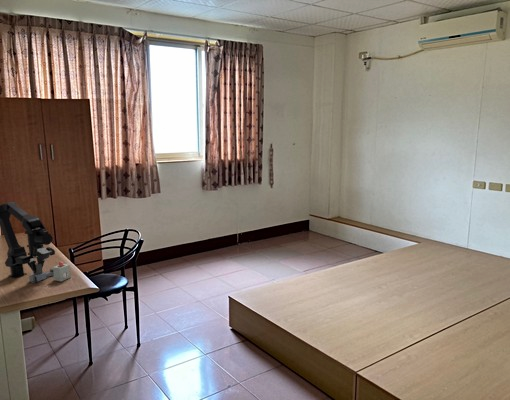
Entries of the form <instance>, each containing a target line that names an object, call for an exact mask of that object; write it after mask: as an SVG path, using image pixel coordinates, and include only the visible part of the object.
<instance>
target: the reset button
mask: <svg viewBox="0 0 510 400" xmlns="http://www.w3.org/2000/svg"><path fill="white" fill-rule="evenodd" d="M63 264H64V262H63V261H58V265H59V267H63Z"/></svg>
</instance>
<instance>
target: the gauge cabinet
mask: <svg viewBox="0 0 510 400" xmlns="http://www.w3.org/2000/svg"><path fill="white" fill-rule="evenodd" d="M70 266H71V265H70V264H67V263H63V267H59V264H58V265H55V266H53V267H52V269H53V272H54V275H53V279H54V281H58V282H63V281H66V280H68V279H71V278H72V277H71V267H70Z"/></svg>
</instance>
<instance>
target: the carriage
mask: <svg viewBox="0 0 510 400" xmlns="http://www.w3.org/2000/svg"><path fill="white" fill-rule="evenodd" d="M35 267H36V273H34V272H33V271H32V273H30V275H29V276H35V277H36V280H37V282H41V281H43V280H45V279H47V278H46V273H45V271H44V272H43V268H42V264H40V263H38V262H36V263H35ZM37 282H36V283H37Z"/></svg>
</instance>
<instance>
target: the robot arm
mask: <svg viewBox="0 0 510 400" xmlns="http://www.w3.org/2000/svg"><path fill="white" fill-rule="evenodd" d="M11 215H12V216H13V217H14V218H16V220H18V221H19V222H21V227H23V228H24V230H25V231H24V234H25V235H26V237H27V243H28V244H27V245H26V248H28V252H27V251H26V248H25V246H21V245H20V244H19V241H18V238H17V236H16V233H15V231H14V228H13V225H12V223H11V220H10V218H11ZM0 228H1V231H2V234H3V237H4V240H5V242H6V244H7V245H6V246H7V248H8V249H7V252H6V255H7V258H6V260H5V261H4V265H5V267H9V269H10V274H9V275H8V276H7V277H9V278H14V279H17V278H20V277H23V276H25V275H27V273H25V271H24V265H26V264H27V265H28V266H29V268H30V269H31V271H32V273H33V272H34V273H36V267H35V264H36V263H40V264H42V269H43V267H44V264H45V262H46V261H47V259H49V258H50V256H54V255H56V251H55V249H54V248H53V247H52V246H49V245H50V244H51V243H52V242H53V236H52V235H51V234H50V233H49V231H48V230H47V229H46V227H45V225H44V224H43V222H42V220H41V219H40V218H39V217H37V216H36V215H31V214H29V213H27V212H26V211H25V210H24V209H22V208H21V207H19V206H18V205H17V204H16V202H15V201H10V202H9V201H8V202H5V203H1V204H0ZM44 245H45V246H48V247H44ZM35 259H36V260H35Z"/></svg>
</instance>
